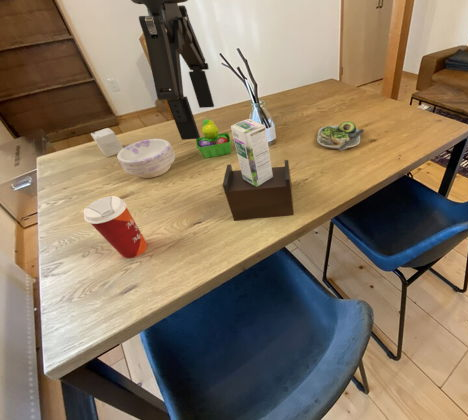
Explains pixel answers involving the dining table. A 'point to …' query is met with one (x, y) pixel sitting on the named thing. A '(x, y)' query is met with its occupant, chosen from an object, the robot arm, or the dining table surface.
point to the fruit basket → (213, 141)
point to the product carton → (107, 142)
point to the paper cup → (116, 225)
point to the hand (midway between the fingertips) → (199, 121)
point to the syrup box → (252, 151)
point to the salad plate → (339, 136)
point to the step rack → (259, 194)
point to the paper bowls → (147, 158)
